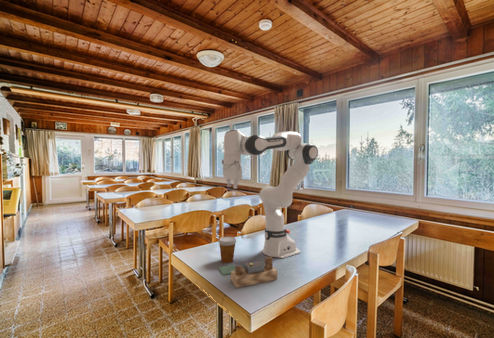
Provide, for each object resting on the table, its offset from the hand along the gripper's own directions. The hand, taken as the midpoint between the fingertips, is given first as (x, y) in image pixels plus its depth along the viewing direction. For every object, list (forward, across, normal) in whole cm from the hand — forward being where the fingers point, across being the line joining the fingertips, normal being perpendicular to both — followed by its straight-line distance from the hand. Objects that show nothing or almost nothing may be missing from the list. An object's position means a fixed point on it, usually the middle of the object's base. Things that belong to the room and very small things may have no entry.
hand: (232, 187), depth 120 cm
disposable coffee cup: (+40, +5, +1) cm, 41 cm away
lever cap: (+36, -19, -4) cm, 41 cm away
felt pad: (+40, -6, +4) cm, 41 cm away
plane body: (+40, -19, -4) cm, 45 cm away
